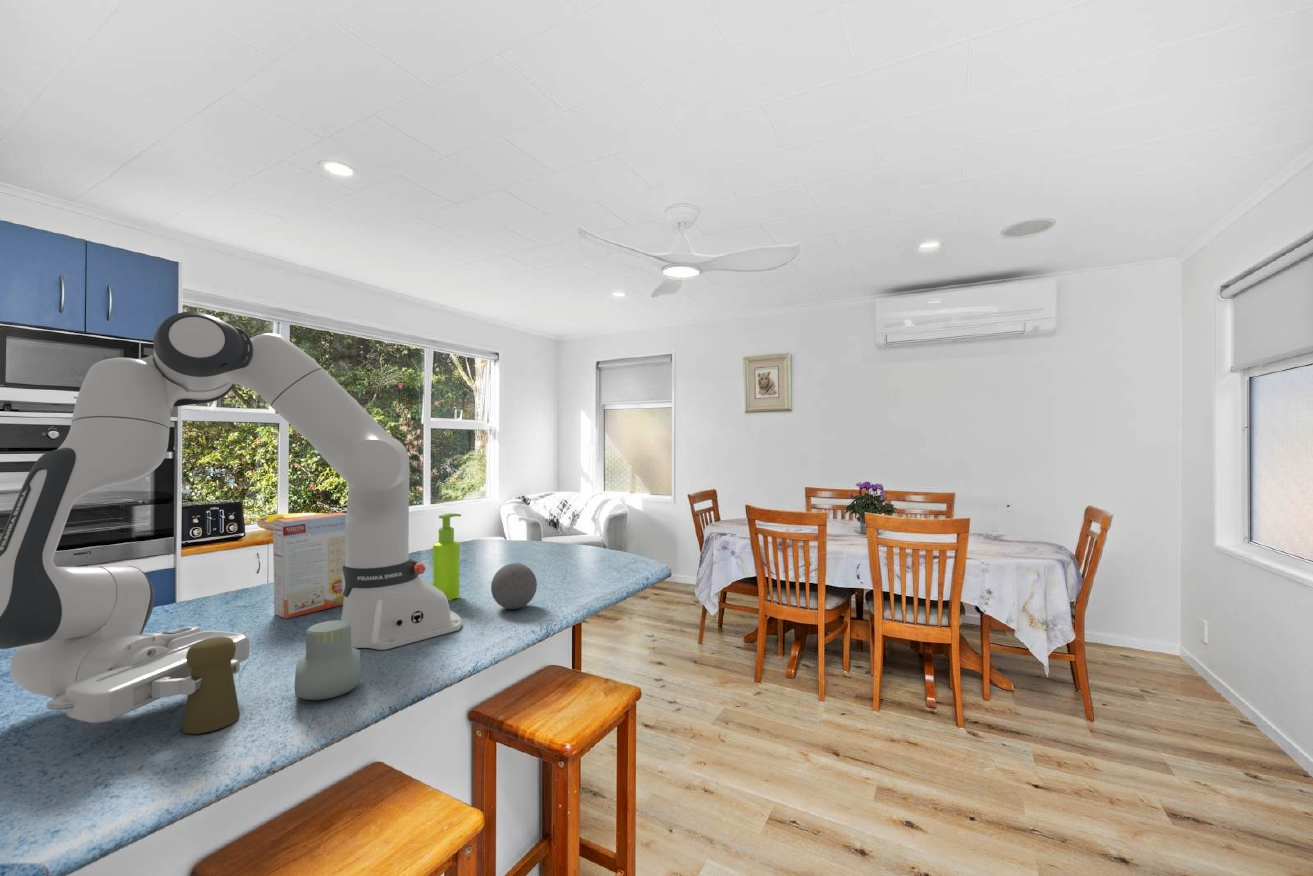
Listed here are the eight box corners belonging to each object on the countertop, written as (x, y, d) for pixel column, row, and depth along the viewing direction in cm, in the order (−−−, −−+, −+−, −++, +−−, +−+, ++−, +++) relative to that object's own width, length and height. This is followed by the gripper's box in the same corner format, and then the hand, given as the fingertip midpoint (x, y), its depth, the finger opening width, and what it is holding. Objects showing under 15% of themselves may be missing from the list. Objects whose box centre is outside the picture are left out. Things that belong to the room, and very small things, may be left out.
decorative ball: (488, 604, 127) (488, 561, 127) (531, 599, 131) (531, 557, 131) (494, 617, 118) (494, 571, 118) (541, 611, 122) (541, 566, 122)
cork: (207, 736, 71) (207, 650, 71) (169, 730, 72) (169, 646, 72) (251, 712, 77) (250, 633, 77) (215, 708, 78) (215, 630, 78)
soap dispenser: (467, 595, 135) (467, 513, 135) (445, 603, 128) (446, 517, 128) (449, 592, 137) (449, 511, 137) (427, 599, 131) (427, 515, 131)
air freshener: (299, 683, 87) (299, 620, 87) (359, 672, 91) (359, 611, 91) (293, 714, 77) (293, 642, 77) (360, 700, 81) (360, 632, 81)
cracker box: (339, 599, 131) (340, 511, 131) (352, 603, 128) (352, 513, 127) (272, 614, 120) (272, 518, 120) (283, 620, 116) (283, 520, 116)
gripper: (35, 679, 66) (131, 688, 64) (202, 622, 86) (279, 627, 84) (35, 732, 66) (131, 743, 64) (202, 662, 86) (279, 668, 84)
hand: (216, 676), depth 74 cm, fingers closed on cork, 4 cm apart
